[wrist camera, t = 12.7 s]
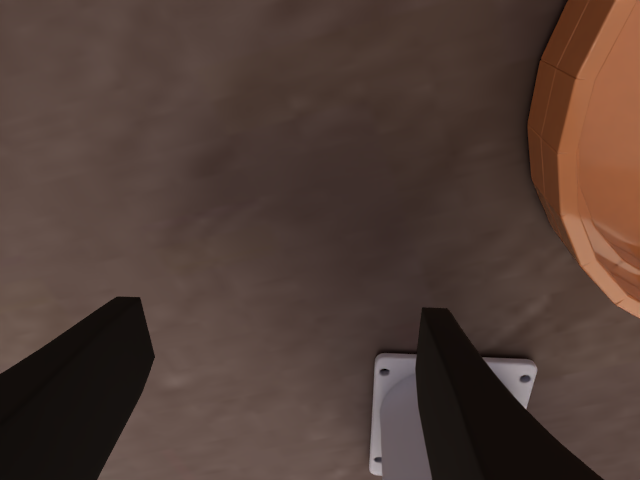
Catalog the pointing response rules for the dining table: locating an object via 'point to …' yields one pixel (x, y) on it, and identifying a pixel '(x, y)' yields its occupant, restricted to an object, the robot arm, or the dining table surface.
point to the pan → (592, 141)
